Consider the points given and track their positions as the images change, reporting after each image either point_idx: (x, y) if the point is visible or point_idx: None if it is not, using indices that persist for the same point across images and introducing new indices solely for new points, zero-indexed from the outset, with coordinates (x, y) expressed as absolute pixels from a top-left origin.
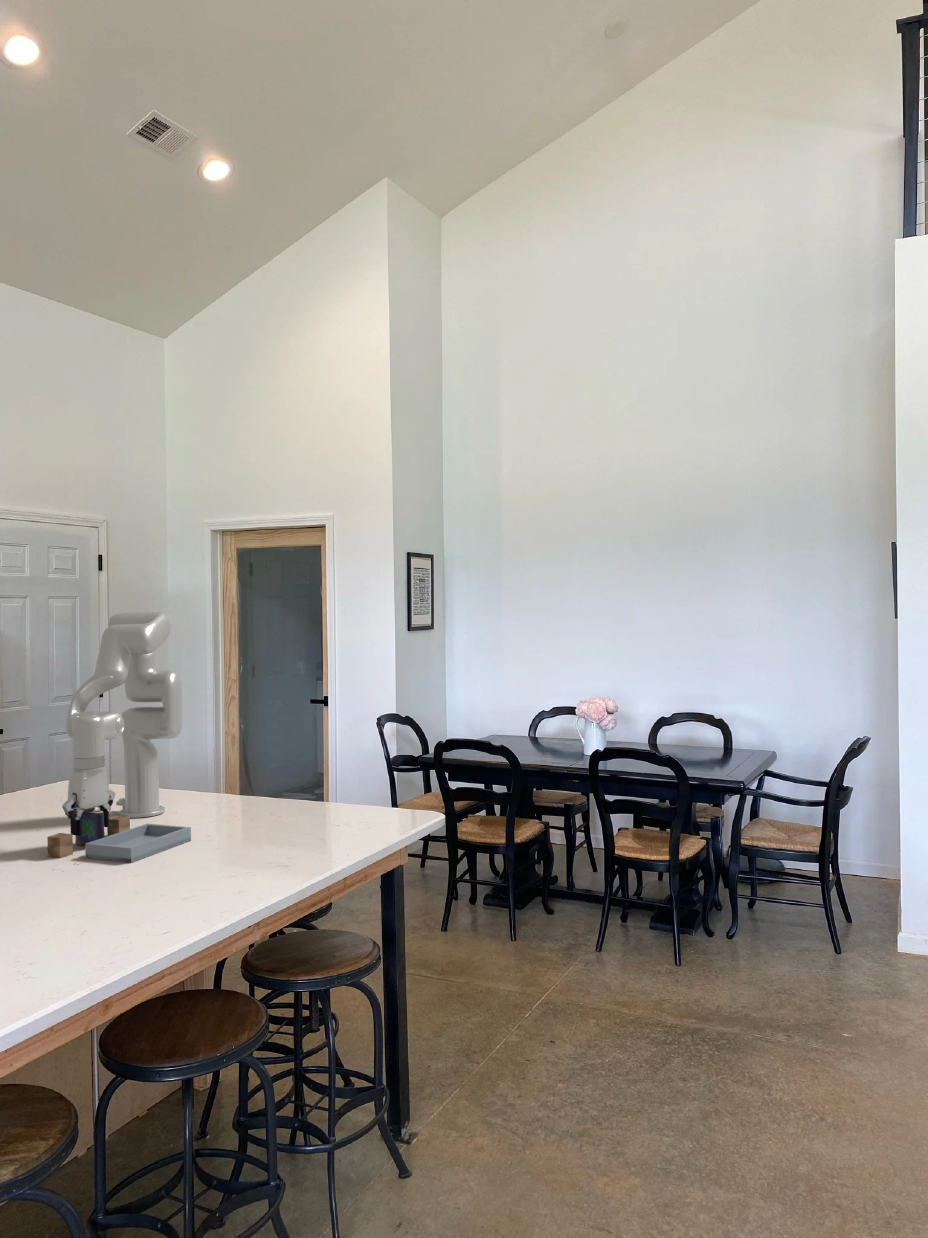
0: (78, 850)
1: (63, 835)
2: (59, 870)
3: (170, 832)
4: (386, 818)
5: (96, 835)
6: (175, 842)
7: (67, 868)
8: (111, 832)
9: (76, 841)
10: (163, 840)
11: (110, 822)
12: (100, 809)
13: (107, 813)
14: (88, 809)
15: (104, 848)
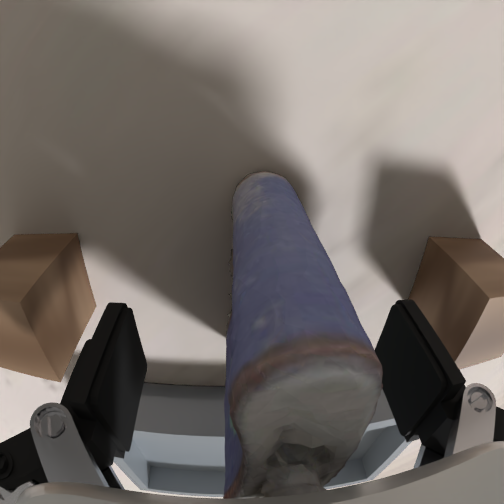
0: (151, 286)
1: (17, 356)
2: (2, 371)
3: (380, 446)
4: None
5: (225, 382)
6: None
7: (20, 380)
8: (435, 278)
9: (233, 203)
10: None
11: (466, 310)
12: (446, 418)
13: (402, 434)
14: None
15: None
